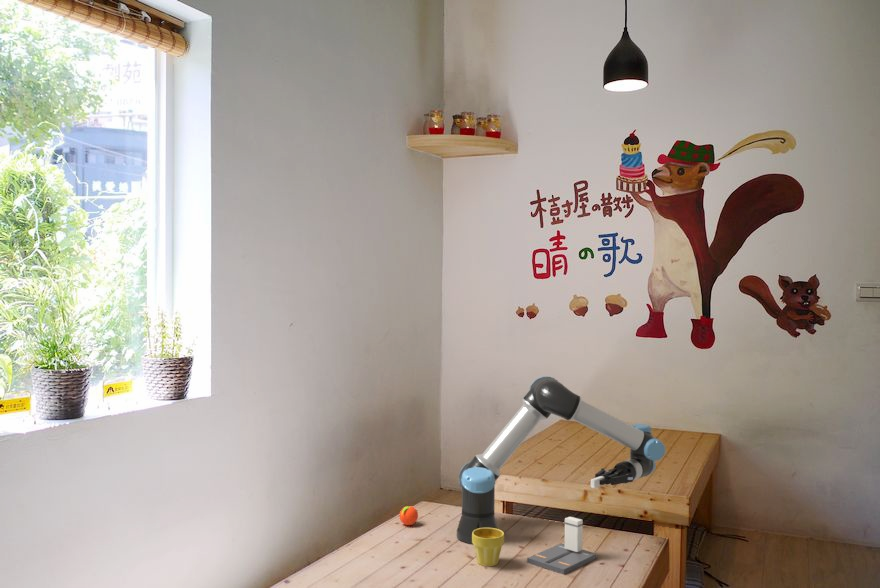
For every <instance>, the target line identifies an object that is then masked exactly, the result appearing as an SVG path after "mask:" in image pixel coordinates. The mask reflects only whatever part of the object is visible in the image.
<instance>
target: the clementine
mask: <svg viewBox="0 0 880 588" xmlns="http://www.w3.org/2000/svg"><path fill="white" fill-rule="evenodd" d="M418 518H419V513H418V510H417V509H416V508H415V507H414V506H412V505H406V506H404V507H403V508H402V509H401V510H400V511H399V520H400V522H401V523H402V524H403V525H405V526H412V525H414V524H415V523H416V522H417V521H418Z"/></svg>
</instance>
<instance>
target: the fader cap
mask: <svg viewBox="0 0 880 588" xmlns="http://www.w3.org/2000/svg"><path fill="white" fill-rule="evenodd" d="M583 522H584V521H583V519H581V518H578V517H574V516H568V517H567V516H566V517H565V518H564V544H565V549H568V550H572V551H575V552H579V551H581V550H583V526H584V524H583Z"/></svg>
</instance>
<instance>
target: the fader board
mask: <svg viewBox="0 0 880 588" xmlns="http://www.w3.org/2000/svg"><path fill="white" fill-rule="evenodd" d="M597 556H598V555H597V553H596V552H592V551H590V550H589V551H588V550H585V549H582V550H581V551H579V552H575V551H572V550H568V549H565V543H562V542H560V543H558V544H556V545H554V546H552V547H549V548H547V549H544V550H542V551H540V552H538V553H535V554H533V555H530V556H528V557H527V558H526V559H527V560H526V563H527V564H531V565H535V566H537V567H540V568H543V569H547V570H548V571H553V572H556V573H559V574H561V575H565V574H567V573H569V572H572V571H573V570H575V569H578V568H580V567H581V566H584V565H586V564H588V563H589V562H592V561H594V560H596V559H597Z"/></svg>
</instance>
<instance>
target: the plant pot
mask: <svg viewBox="0 0 880 588" xmlns="http://www.w3.org/2000/svg"><path fill="white" fill-rule="evenodd" d="M472 543H473V546H474V550H475V555H476V556H475V557H476V561H477V564H478V565H480V566H483V567H495V566H496V565H498V564H499V560H500V555H501V551H502V546H504V544H505V531H503V530H501V529H499V528H498V529H496V528H479V529H476V530H474V531H473V532H472Z"/></svg>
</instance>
